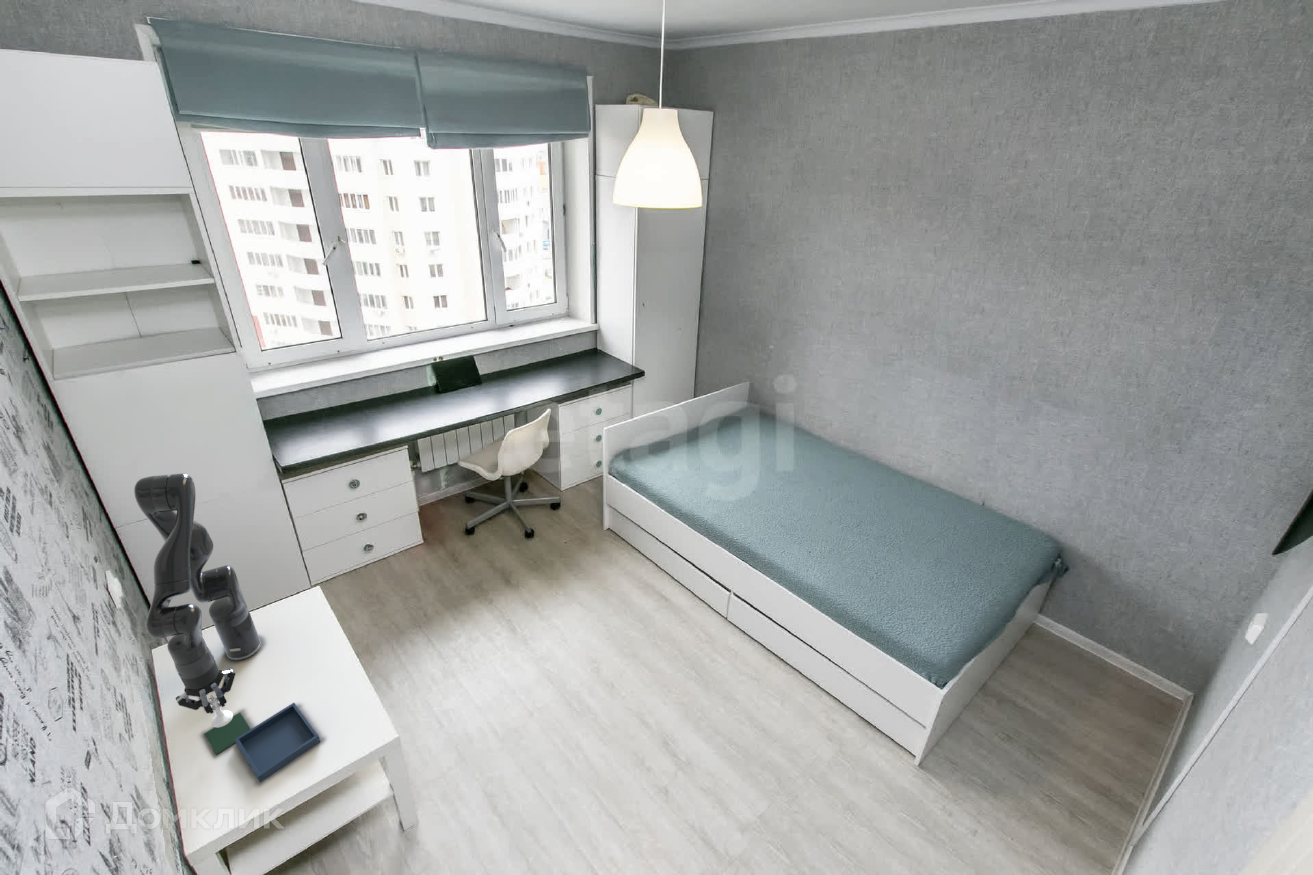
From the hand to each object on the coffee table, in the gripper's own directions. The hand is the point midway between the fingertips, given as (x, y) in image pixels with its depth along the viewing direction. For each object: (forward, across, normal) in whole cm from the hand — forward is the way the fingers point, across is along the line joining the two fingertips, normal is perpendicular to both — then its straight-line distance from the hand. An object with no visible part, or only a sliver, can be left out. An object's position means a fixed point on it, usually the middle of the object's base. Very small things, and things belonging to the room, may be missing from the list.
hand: (216, 707), depth 161 cm
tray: (+11, -8, +13) cm, 19 cm away
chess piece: (+5, 0, 0) cm, 5 cm away
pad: (+11, 0, 0) cm, 11 cm away
